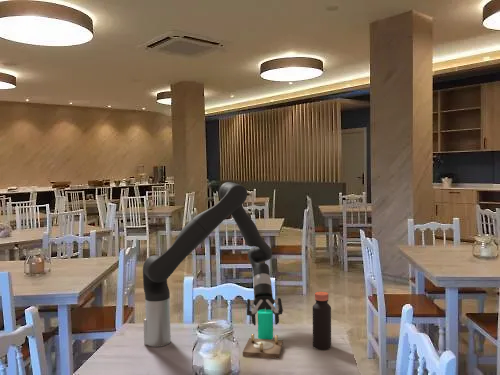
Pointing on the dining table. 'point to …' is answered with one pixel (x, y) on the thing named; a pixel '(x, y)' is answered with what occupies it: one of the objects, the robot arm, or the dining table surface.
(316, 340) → the bottle
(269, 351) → the stand
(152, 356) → the dining table surface
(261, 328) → the candle
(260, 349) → the pins
